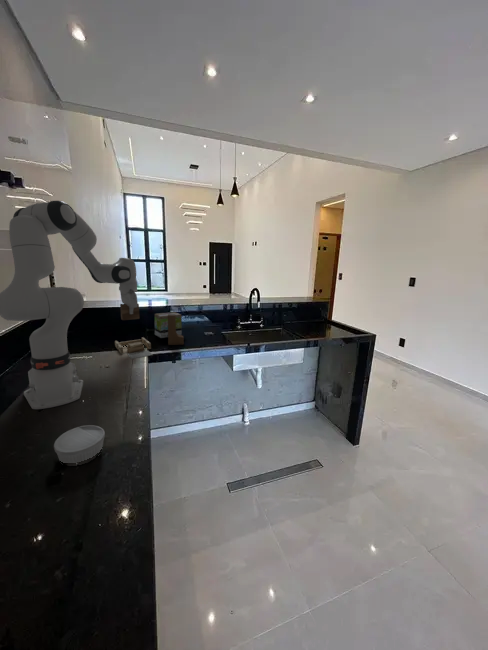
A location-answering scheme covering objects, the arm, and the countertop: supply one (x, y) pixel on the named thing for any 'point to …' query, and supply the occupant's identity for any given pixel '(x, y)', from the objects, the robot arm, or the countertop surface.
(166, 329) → the tea box
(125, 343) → the tray
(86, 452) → the ramekin
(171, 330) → the wooden block
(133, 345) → the offcut upper
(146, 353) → the mat
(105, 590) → the countertop surface
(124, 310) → the dark brown wood block
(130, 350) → the offcut lower
